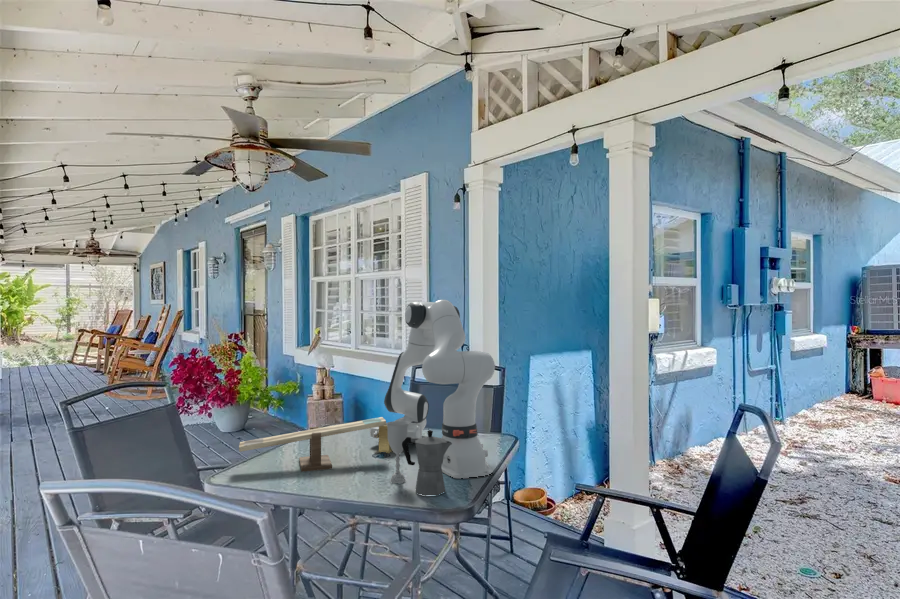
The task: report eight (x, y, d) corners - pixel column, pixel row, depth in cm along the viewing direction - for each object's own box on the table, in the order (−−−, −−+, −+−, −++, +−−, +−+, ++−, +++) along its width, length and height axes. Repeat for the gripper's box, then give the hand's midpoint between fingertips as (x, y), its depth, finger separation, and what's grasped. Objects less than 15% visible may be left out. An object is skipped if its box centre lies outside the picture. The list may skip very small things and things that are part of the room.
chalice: (409, 477, 172) (409, 421, 172) (409, 484, 165) (408, 425, 165) (386, 477, 171) (386, 421, 172) (385, 484, 165) (384, 425, 165)
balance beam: (386, 425, 191) (386, 420, 191) (239, 451, 176) (238, 446, 176) (382, 421, 198) (382, 416, 198) (240, 446, 182) (240, 441, 182)
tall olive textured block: (394, 450, 205) (394, 424, 205) (389, 453, 201) (389, 426, 201) (384, 449, 206) (384, 423, 207) (378, 452, 202) (378, 425, 203)
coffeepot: (456, 488, 161) (455, 428, 162) (447, 499, 152) (447, 435, 152) (407, 484, 165) (407, 425, 166) (396, 494, 156) (396, 432, 157)
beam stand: (332, 468, 181) (332, 433, 182) (301, 471, 178) (301, 435, 178) (328, 458, 195) (327, 424, 195) (299, 460, 192) (299, 426, 192)
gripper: (379, 419, 220) (361, 426, 207) (425, 423, 212) (409, 430, 199) (379, 435, 220) (361, 443, 207) (425, 439, 212) (409, 447, 199)
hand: (385, 437), depth 203 cm, fingers open, 8 cm apart
